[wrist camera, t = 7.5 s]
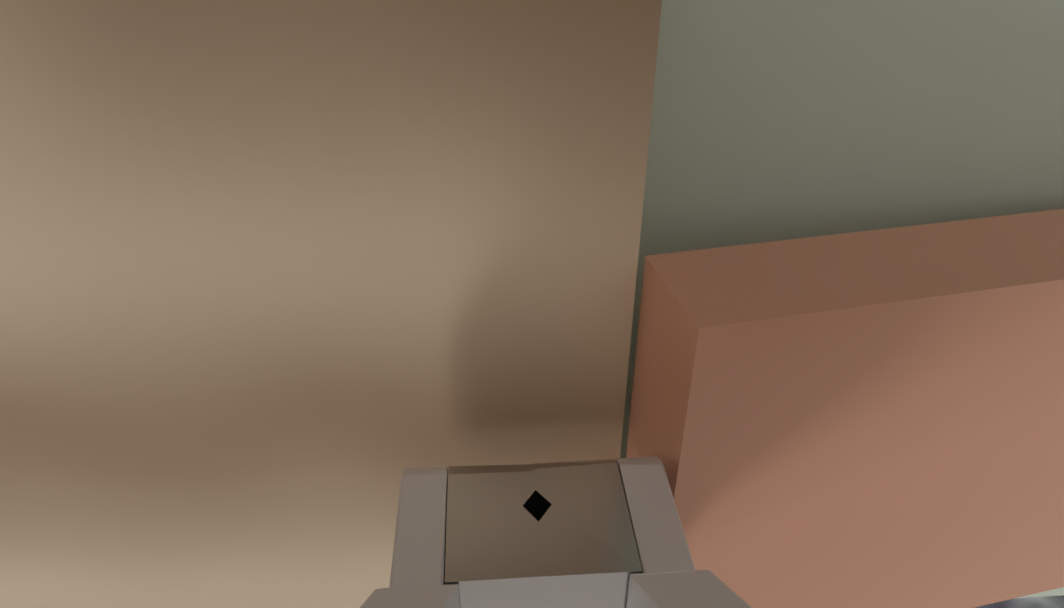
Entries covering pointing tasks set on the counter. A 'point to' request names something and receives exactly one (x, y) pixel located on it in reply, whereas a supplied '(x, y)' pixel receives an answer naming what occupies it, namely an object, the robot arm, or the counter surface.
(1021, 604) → the counter surface
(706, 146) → the mat
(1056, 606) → the counter surface
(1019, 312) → the tile
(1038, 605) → the counter surface
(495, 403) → the beige flat board
